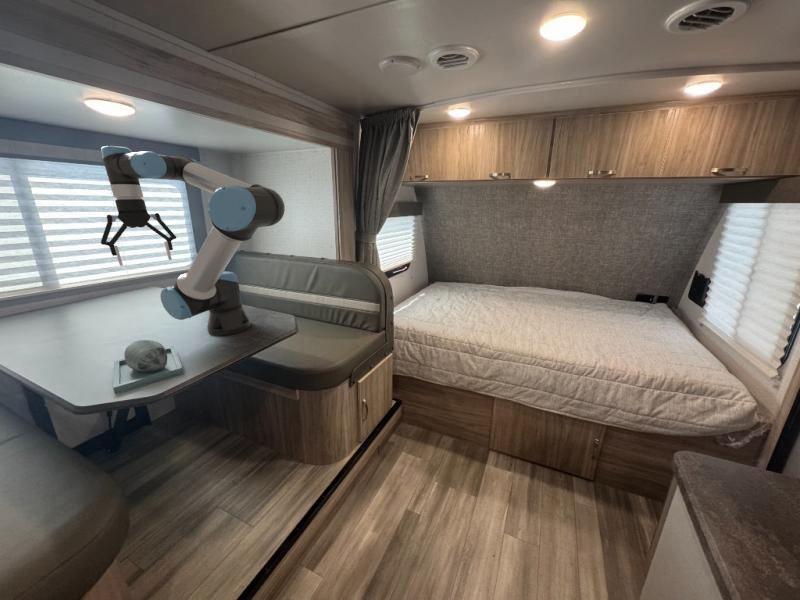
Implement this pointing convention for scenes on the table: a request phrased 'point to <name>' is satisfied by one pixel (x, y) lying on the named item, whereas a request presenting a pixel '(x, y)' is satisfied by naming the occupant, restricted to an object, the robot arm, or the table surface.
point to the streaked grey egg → (146, 356)
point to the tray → (144, 373)
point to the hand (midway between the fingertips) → (146, 262)
